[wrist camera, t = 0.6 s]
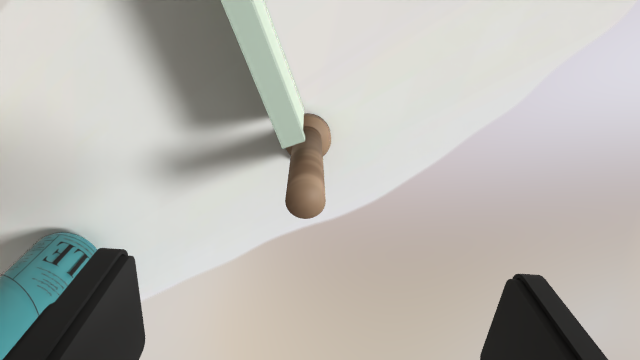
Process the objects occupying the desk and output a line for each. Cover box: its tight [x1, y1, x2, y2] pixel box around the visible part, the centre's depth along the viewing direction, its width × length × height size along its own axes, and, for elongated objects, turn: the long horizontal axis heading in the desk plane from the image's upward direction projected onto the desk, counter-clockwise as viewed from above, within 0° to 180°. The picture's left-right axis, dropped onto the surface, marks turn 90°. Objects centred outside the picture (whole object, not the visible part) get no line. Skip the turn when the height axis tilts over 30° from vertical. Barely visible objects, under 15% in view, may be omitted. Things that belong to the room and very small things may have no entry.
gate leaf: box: [221, 0, 305, 149], centre depth 27 cm, size 14×2×8 cm, turn 19°
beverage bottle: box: [0, 233, 97, 360], centre depth 31 cm, size 6×7×20 cm
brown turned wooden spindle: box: [285, 114, 331, 219], centre depth 30 cm, size 4×4×12 cm
